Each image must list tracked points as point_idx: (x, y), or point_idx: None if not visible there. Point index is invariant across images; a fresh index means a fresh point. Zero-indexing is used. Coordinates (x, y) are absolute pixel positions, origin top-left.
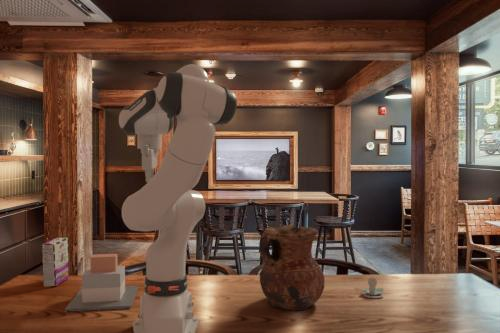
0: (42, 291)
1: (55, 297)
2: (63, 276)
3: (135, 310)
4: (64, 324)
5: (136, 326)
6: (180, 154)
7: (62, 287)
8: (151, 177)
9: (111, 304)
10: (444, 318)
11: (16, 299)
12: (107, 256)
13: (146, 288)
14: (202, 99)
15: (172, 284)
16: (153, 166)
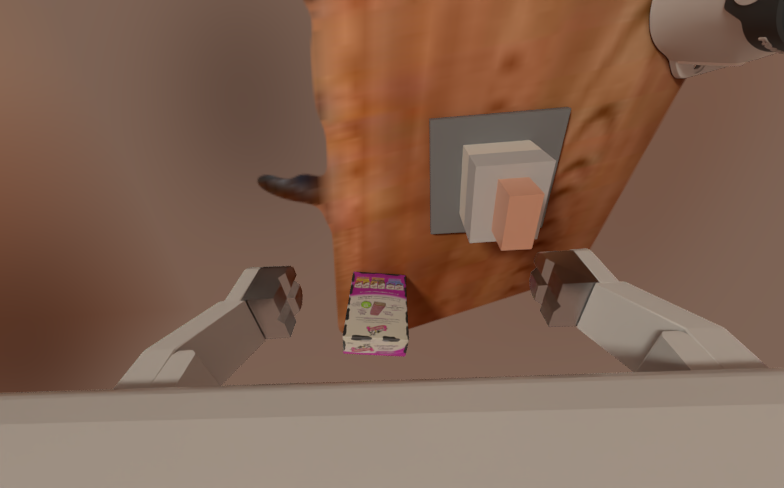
0: (423, 285)
1: (458, 259)
2: (376, 279)
3: (582, 93)
4: (597, 207)
5: (712, 65)
6: None
7: (405, 265)
8: (286, 298)
9: (547, 153)
10: None
11: (456, 302)
12: (536, 213)
13: None
14: None
15: None
16: (779, 422)
